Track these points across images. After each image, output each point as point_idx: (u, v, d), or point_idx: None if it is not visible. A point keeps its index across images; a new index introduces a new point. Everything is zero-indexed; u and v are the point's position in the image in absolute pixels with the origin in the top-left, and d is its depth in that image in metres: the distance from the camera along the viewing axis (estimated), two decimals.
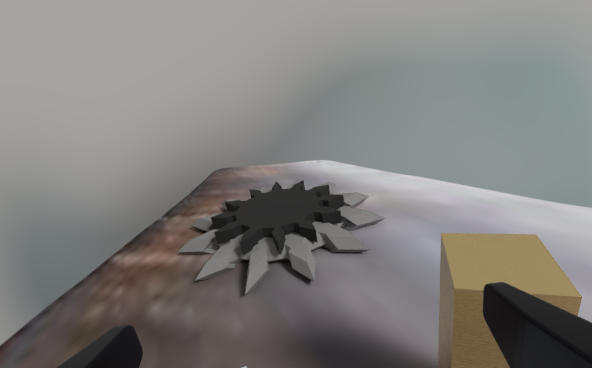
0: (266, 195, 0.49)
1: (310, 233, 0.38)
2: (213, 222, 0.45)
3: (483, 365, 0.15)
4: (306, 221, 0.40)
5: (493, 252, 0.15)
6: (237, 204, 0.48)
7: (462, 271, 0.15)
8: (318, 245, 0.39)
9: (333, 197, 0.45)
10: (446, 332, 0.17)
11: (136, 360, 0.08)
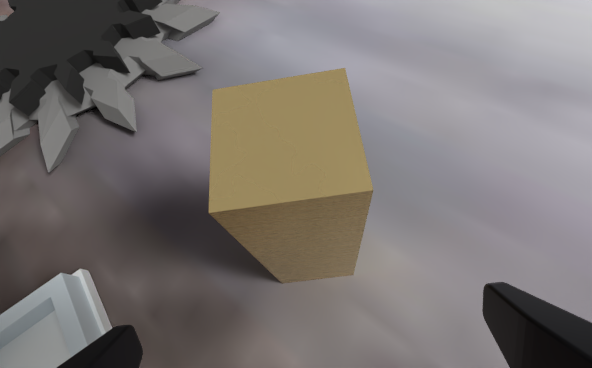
0: (35, 3, 0.31)
1: (114, 62, 0.27)
2: None
3: (284, 248, 0.12)
4: (103, 44, 0.27)
5: (278, 120, 0.10)
6: None
7: (226, 171, 0.09)
8: (135, 75, 0.28)
9: None
10: None
11: (136, 360, 0.08)
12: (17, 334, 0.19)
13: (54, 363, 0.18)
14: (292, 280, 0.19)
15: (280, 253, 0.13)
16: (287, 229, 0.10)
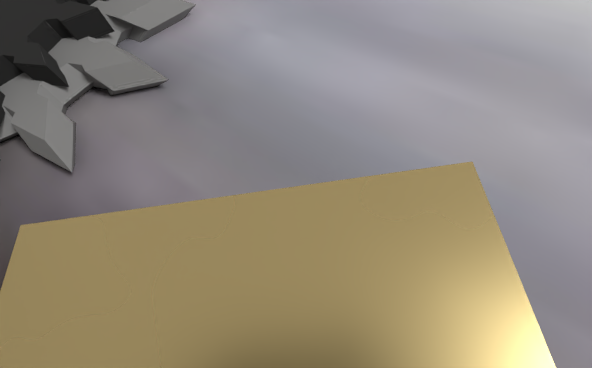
0: None
1: (44, 73, 0.19)
2: None
3: None
4: (29, 47, 0.19)
5: None
6: None
7: None
8: (78, 89, 0.21)
9: None
10: None
11: None
12: None
13: None
14: None
15: None
16: None
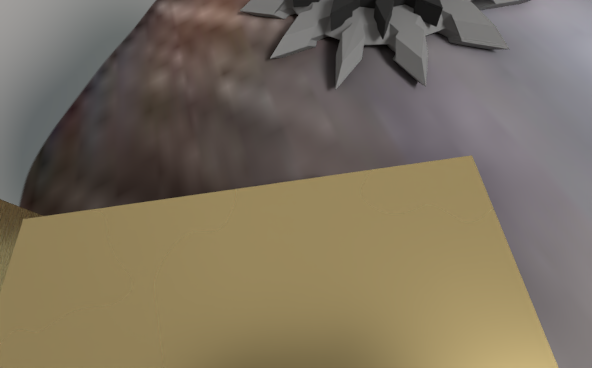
0: None
1: (431, 11, 0.27)
2: None
3: None
4: None
5: None
6: None
7: None
8: (434, 30, 0.28)
9: None
10: None
11: None
12: None
13: None
14: None
15: None
16: None
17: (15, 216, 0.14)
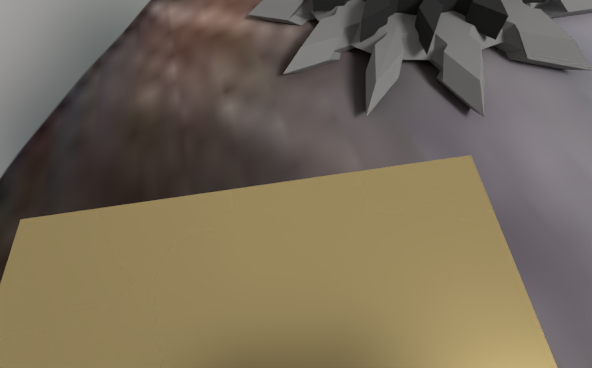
0: None
1: (491, 20, 0.21)
2: None
3: None
4: None
5: None
6: None
7: None
8: (491, 44, 0.22)
9: None
10: None
11: None
12: None
13: None
14: None
15: None
16: None
17: None
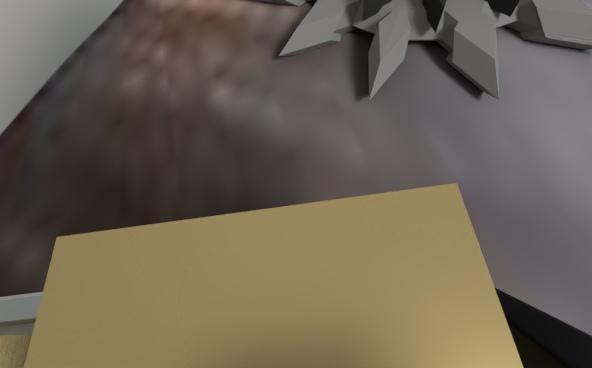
0: None
1: None
2: None
3: None
4: None
5: None
6: None
7: None
8: (504, 22, 0.21)
9: None
10: None
11: None
12: None
13: None
14: None
15: None
16: None
17: None
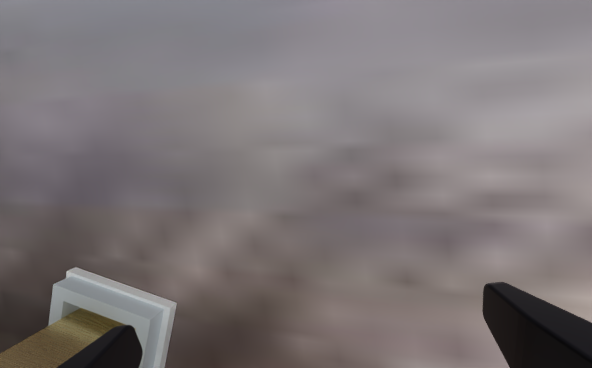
0: None
1: None
2: None
3: None
4: None
5: None
6: None
7: None
8: None
9: None
10: None
11: (136, 360, 0.08)
12: None
13: None
14: None
15: None
16: None
17: None
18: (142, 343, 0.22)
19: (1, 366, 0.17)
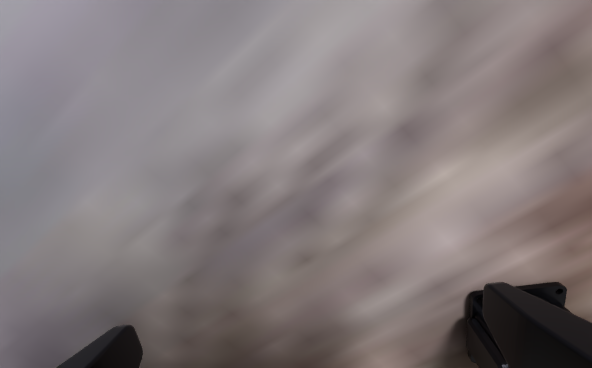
0: None
1: None
2: None
3: None
4: None
5: None
6: None
7: None
8: None
9: None
10: None
11: (136, 360, 0.08)
12: None
13: None
14: None
15: None
16: None
17: None
18: None
19: None
